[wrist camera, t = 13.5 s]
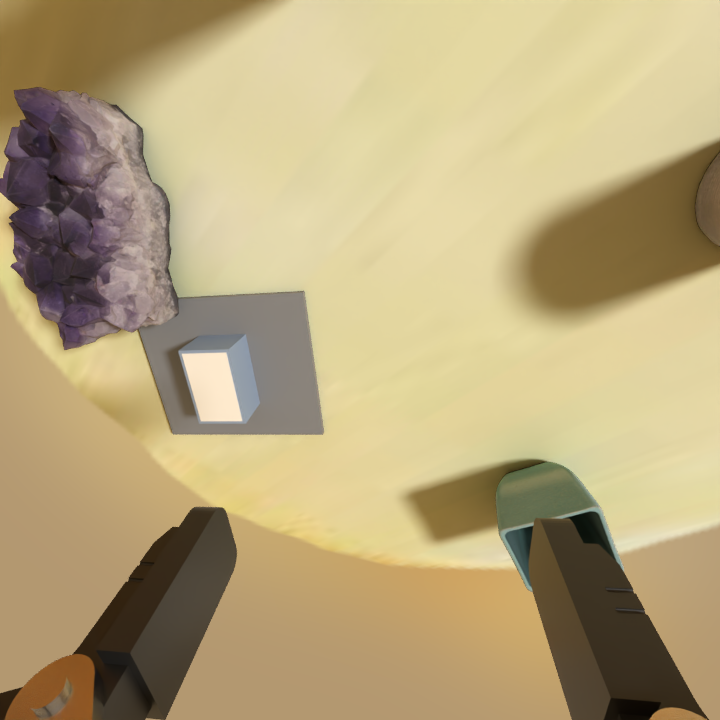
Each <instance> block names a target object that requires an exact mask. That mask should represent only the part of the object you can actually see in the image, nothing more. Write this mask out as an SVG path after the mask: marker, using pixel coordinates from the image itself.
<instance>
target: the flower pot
mask: <svg viewBox="0 0 720 720" xmlns="http://www.w3.org/2000/svg"><path fill="white" fill-rule="evenodd" d="M496 510H497V520H498V529H499V535H500V538H501V540H502V541H503V543H504V545H505V547H506V549H507V550H508V552H509V554H510V556H511V558H512V560H513V562H514V564H515V566H516V568H517V570H518V571H519V573H520V575H521V577H522V580H523V582H524V584H525V586H526V588H527V589H528V590H529V591H531V592H533V591H532V587H531V582H530V577H529V555H530V547H531V540H532V533H533V525H534V520H535V519H536V518H561V519H570V520H571V521H572V522H573V523H574V525H575V527H576V529H577V531H578V533H579V535H580V537H581V539H582V541H583V543H586V544H599V545H600V546H601V547H602V548H603V549H604V550H605V551H606V552H607V553H608V554H609V555H610V556H611V557H612V558H613V559H614V560H615V561H616V562H617V563H618V564H619V565H620V566H621V568H622V570H623V572H624V567H623V564H622V562H621V559H620V557H619V554H618V552H617V549H616V547H615V544H614V541H613V539H612V536H611V533H610V530H609V528H608V525H607V522H606V519H605V516H604V513H603V511H602V509H601V507H600V506H599V505H598V503H597V502H596V500H595V499H594V498H593V497H592V495H591V494H590V493H589V491H588V490H587V489H586V487H585V486H584V485H583V484H582V482H581V481H580V480H579V479H578V477H577V476H576V475H575V474H574V473H573V472H572V471H570V470H569V469H567V468H566V467H564V466H562V465H559V464H557V463H553V462H545V463H542V464H538V465H535V466H532V467H529V468H525V469H522V470H518V471H515V472H511V473H508V474H506V475H505V476H504V477H503V478H502V480H501V481H500V483H499V485H498V487H497V491H496Z"/></svg>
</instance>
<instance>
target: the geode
mask: <svg viewBox="0 0 720 720" xmlns="http://www.w3.org/2000/svg"><path fill="white" fill-rule="evenodd" d="M14 94H15V98H16V101H17V103H18V106H19V107H20V109H21V110H22V111H23V113H24V115H25V117H26V119H25V120H20V126H19V127H12V129H11V133H10V136H9V140H8V143H7V145H6V148H5V150H4V153H5V155H6V157H7V158H8V159H9V161H8V162H7V165H6V168H5V171H4V174H3V178H1V179H0V193H2V194H3V195H4V196H5V197H6V198H7V199H8V200H9V201H11V202H12V203H13V204H14V205H15V206H17V207H18V208H19V210H18V211H16V212H15V213H13V214H12V215H11V216H10V217H9V218H10V219H11V220H12V221H13V222H11V223H9V224H10V226H11V227H12V229H13V231H14V249H13V253H14V255H15V257H16V259H17V261H18V262H16V263H14V264H12V265H11V266H10V267H12V268H13V269H14V270H15V271H16V272H17V273H18V274H19V275H20V276H21V277H22V278H23V279H24V283H25V286H26V287H27V288H28V289H29V290H31V291H32V292H33V293H35V294H36V296H37V302H38V306H39V310H40V313H41V315H42V316H43V317H44V318H46V319H47V320H51V321H54V322H56V323H57V324H58V327H59V332H60V337H61V338H62V339H63V346H64V350H67V349H71V348H77V347H81V346H83V345H85V344H89V343H92V342H95V341H96V340H97V339H99V338H100V337H102V336H105V335H107V334H110V333H117V332H118V331H119V330H121V328H122V329H124V330H126V331H129V332H134V331H136V330H137V329H138V328H140V327H141V326H145V327H147V326H148V325H152V324H153V325H161V324H163V323H165V322H167V321H168V320H170V319H172V318H174V317H176V316H177V315H178V314H179V303H178V297H177V294H176V292H175V289H174V287H173V283H172V279H171V276H170V272H169V269H168V266H169V261H170V254H171V247H170V244H169V221H170V204H169V201H168V198H167V196H166V193H165V192H164V191H163V189H162V188H161V187H160V186H158V185H157V184H155V183H153V182H152V180H151V177H150V175H149V172H148V169H147V166H146V162H145V159H144V157H143V130H142V128H141V127H140V126H139V125H138V124H137V123H135V122H134V121H133V120H132V119H131V118H129V117H128V116H127V115H126V114H125V113H124V112H123V111H122V110H121V109H120V108H119V107H118V106H117V105H110V104H108V103H107V102H105V101H103V100H100V99H96V98H93V97H89V96H88V94H87V93H82V94H81V95H80V94H79V93H77V92H76V91H70V92H67V91H62V90H59V91H57V92H54V91H51V90H47V89H44V88H41V87H36V88H31V89H22V90H14Z"/></svg>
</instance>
